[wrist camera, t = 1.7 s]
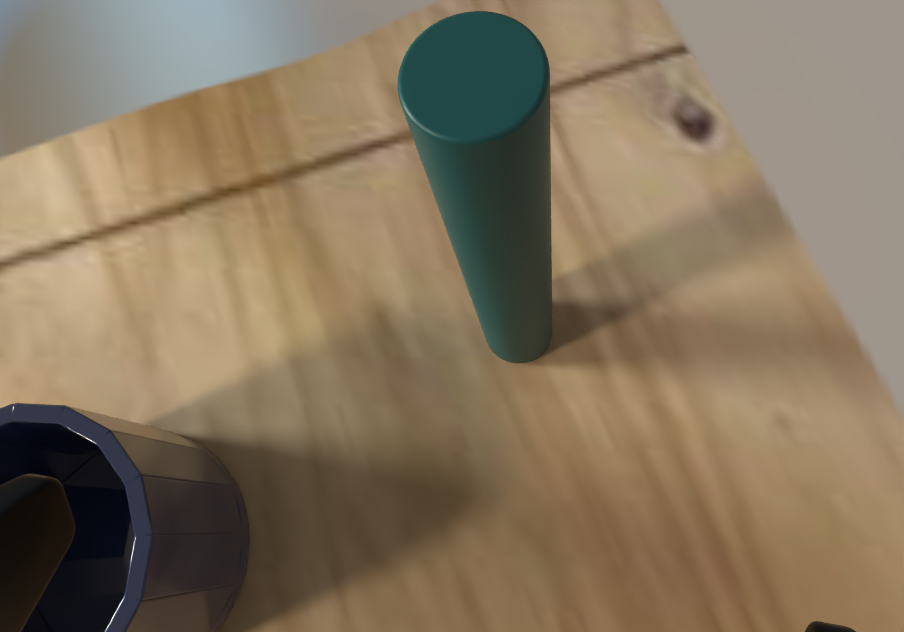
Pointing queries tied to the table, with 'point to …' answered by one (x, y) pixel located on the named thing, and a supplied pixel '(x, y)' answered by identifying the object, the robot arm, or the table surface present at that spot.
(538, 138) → the teal green rod
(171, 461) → the cup
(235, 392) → the table surface
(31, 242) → the table surface
